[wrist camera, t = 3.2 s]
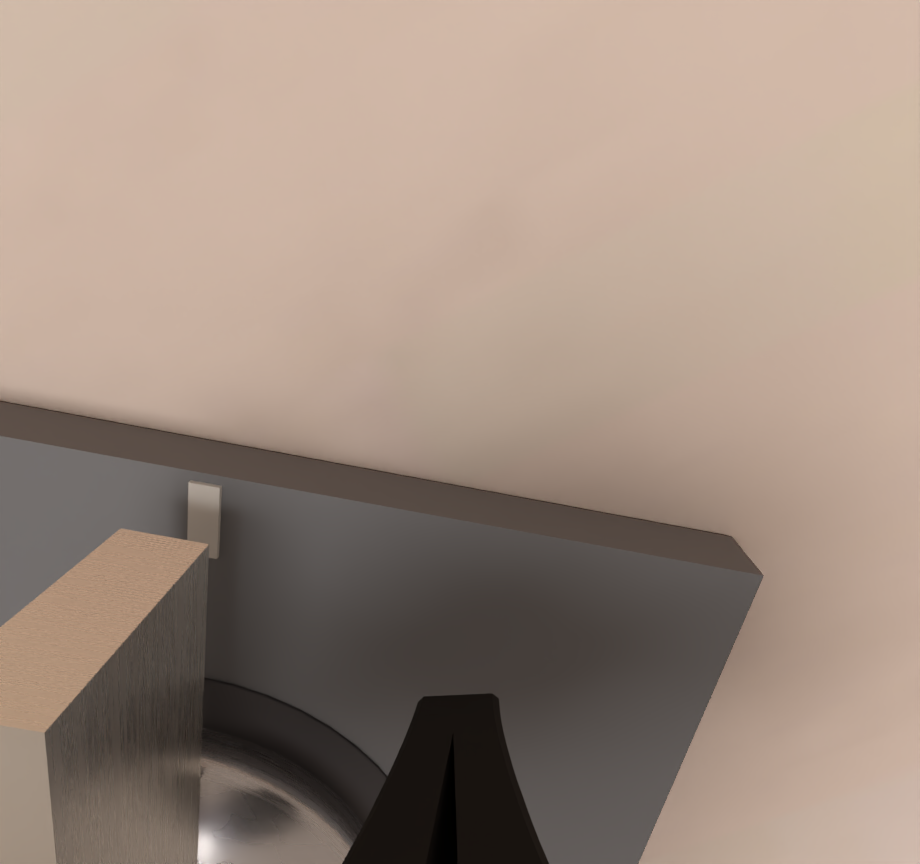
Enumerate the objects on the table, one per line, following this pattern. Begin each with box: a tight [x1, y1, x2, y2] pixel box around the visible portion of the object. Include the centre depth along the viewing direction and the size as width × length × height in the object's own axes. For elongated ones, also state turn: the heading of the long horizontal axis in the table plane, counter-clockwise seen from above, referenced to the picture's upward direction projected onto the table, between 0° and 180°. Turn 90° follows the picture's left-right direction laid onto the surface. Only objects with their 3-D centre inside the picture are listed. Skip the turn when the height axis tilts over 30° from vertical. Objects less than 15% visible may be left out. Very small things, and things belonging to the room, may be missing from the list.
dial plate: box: [0, 401, 763, 864], centre depth 15 cm, size 22×22×2 cm
